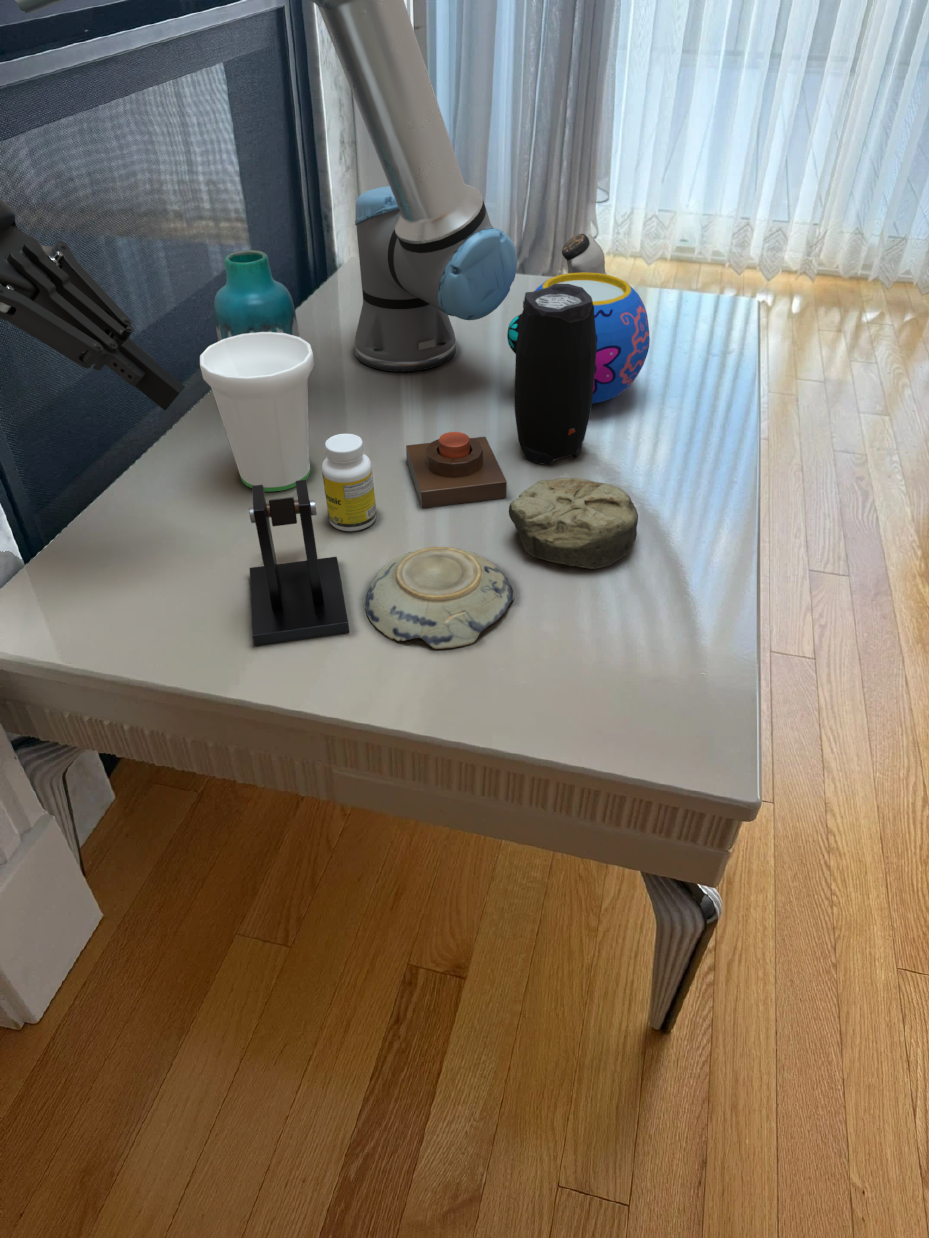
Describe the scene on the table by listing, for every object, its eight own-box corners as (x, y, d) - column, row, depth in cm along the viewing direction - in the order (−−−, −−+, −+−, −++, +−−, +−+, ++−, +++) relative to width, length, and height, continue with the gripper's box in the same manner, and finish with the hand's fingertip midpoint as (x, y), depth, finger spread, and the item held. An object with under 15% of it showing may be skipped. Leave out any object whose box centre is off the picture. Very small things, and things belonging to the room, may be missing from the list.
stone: (611, 588, 91) (616, 545, 88) (494, 552, 96) (494, 510, 93) (653, 524, 100) (659, 483, 97) (543, 494, 105) (546, 454, 102)
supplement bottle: (322, 512, 103) (312, 435, 96) (367, 502, 104) (360, 425, 98) (336, 537, 99) (326, 459, 93) (383, 526, 100) (376, 448, 94)
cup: (267, 513, 103) (244, 389, 93) (203, 476, 109) (176, 355, 99) (348, 471, 110) (335, 351, 100) (284, 438, 116) (266, 322, 106)
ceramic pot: (541, 360, 134) (545, 256, 124) (657, 381, 128) (672, 274, 118) (493, 409, 122) (494, 299, 112) (620, 435, 116) (632, 321, 106)
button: (436, 446, 107) (436, 433, 106) (466, 443, 107) (466, 430, 106) (442, 461, 104) (441, 448, 103) (472, 458, 105) (472, 444, 103)
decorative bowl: (383, 664, 83) (536, 631, 86) (379, 633, 81) (537, 601, 84) (352, 572, 94) (488, 545, 97) (348, 543, 92) (488, 517, 95)
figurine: (576, 320, 145) (583, 223, 136) (632, 334, 141) (643, 234, 131) (548, 338, 140) (553, 238, 130) (605, 353, 135) (614, 250, 126)
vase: (255, 423, 119) (229, 277, 107) (216, 396, 126) (187, 256, 113) (322, 398, 125) (304, 257, 112) (280, 374, 131) (260, 237, 119)
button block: (406, 461, 111) (405, 432, 109) (485, 452, 113) (485, 423, 110) (421, 508, 103) (420, 478, 101) (506, 498, 105) (507, 468, 102)
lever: (263, 522, 93) (259, 499, 93) (311, 516, 94) (308, 493, 94) (256, 528, 81) (252, 502, 81) (312, 521, 82) (308, 495, 82)
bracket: (251, 577, 93) (229, 470, 85) (338, 566, 95) (324, 459, 87) (254, 646, 85) (230, 534, 77) (349, 632, 87) (335, 521, 78)
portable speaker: (593, 465, 110) (607, 308, 97) (517, 469, 110) (521, 311, 97) (580, 432, 117) (592, 280, 104) (509, 435, 116) (512, 283, 103)
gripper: (-27, 220, 85) (180, 392, 94) (-113, 267, 75) (127, 455, 84) (6, 160, 81) (219, 346, 90) (-80, 201, 71) (169, 406, 80)
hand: (174, 398), depth 87 cm, fingers closed
